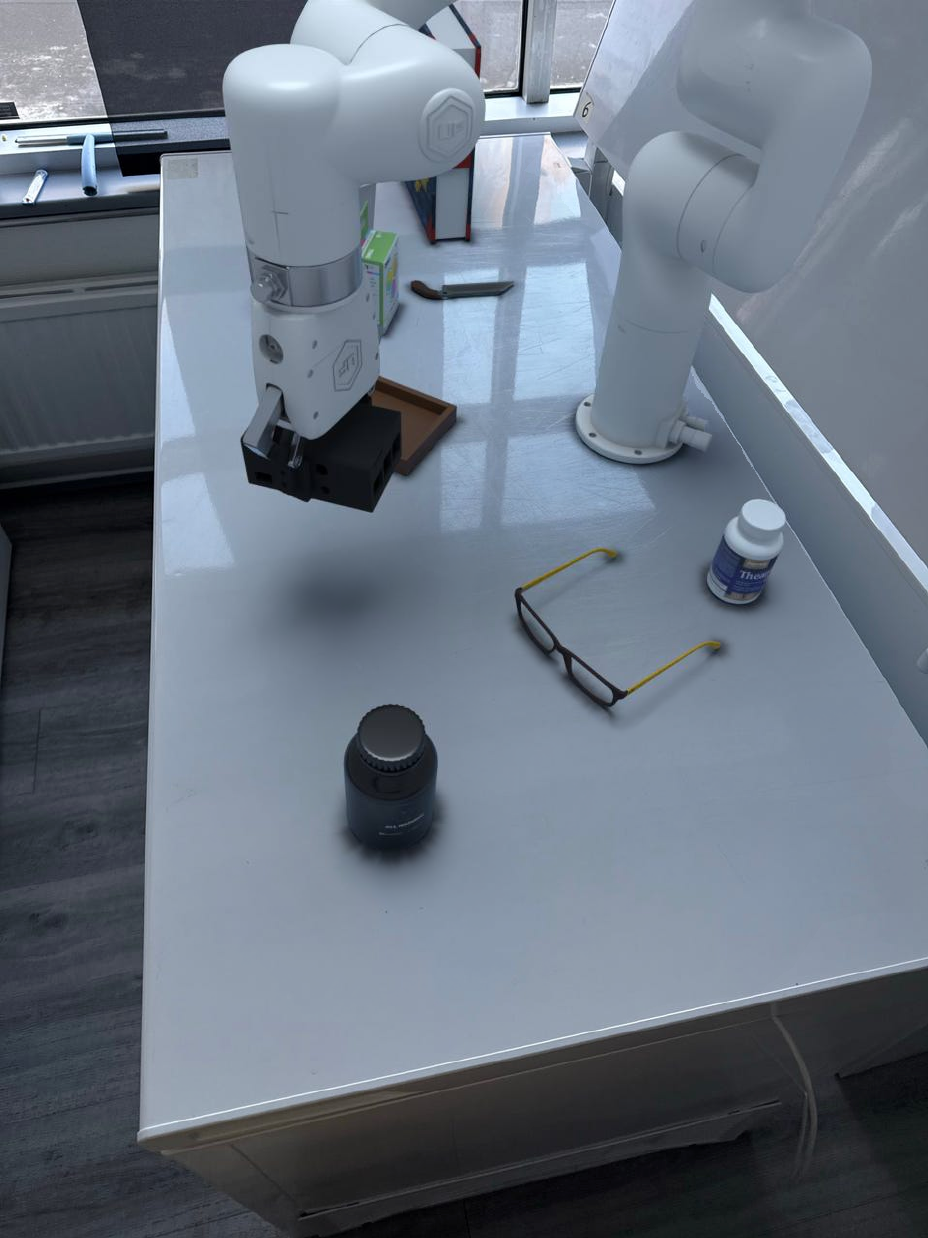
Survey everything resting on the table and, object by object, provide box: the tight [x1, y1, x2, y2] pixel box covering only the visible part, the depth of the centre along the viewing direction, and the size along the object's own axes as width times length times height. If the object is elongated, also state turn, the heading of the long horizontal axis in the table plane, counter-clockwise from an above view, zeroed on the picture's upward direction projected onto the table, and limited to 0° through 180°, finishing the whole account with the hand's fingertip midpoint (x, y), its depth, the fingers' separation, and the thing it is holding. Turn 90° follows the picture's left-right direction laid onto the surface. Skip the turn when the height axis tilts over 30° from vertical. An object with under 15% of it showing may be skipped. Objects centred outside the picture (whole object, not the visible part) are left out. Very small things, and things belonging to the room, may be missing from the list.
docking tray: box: [368, 375, 458, 476], centre depth 100 cm, size 15×11×2 cm
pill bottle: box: [706, 498, 787, 605], centre depth 85 cm, size 5×5×10 cm
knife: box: [410, 279, 515, 299], centre depth 119 cm, size 14×4×1 cm, turn 101°
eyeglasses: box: [514, 547, 722, 708], centre depth 82 cm, size 14×14×4 cm
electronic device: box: [239, 402, 402, 513], centre depth 72 cm, size 7×11×5 cm
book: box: [404, 3, 482, 245], centre depth 125 cm, size 25×7×25 cm, turn 14°
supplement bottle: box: [343, 703, 439, 852], centre depth 66 cm, size 7×7×12 cm
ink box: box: [360, 201, 400, 335], centre depth 109 cm, size 7×4×13 cm, turn 168°
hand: (326, 460), depth 73 cm, fingers closed on electronic device, 8 cm apart
